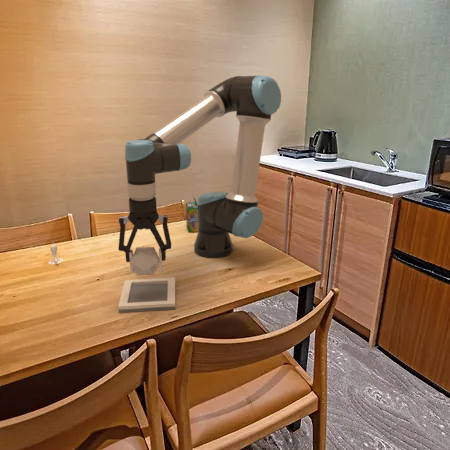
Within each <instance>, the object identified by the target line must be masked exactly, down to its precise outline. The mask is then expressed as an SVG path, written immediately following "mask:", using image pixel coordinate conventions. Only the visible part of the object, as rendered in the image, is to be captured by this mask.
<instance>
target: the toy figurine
mask: <svg viewBox="0 0 450 450" xmlns="http://www.w3.org/2000/svg"><path fill="white" fill-rule="evenodd" d="M50 252H51V256H50V259H49V260H50V261H49V260H48V261H49V262H48V261H47V263H48V264H49V265H57V264H61V263H62V262H64V258H63V257H62V258H61V257H60V254H58V245H56V244H55V243H51V245H50ZM57 256H58V257H57ZM59 257H60V259H59ZM51 258H52V259H53V261H52V260H51ZM57 258H58V259H57Z"/></svg>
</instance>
